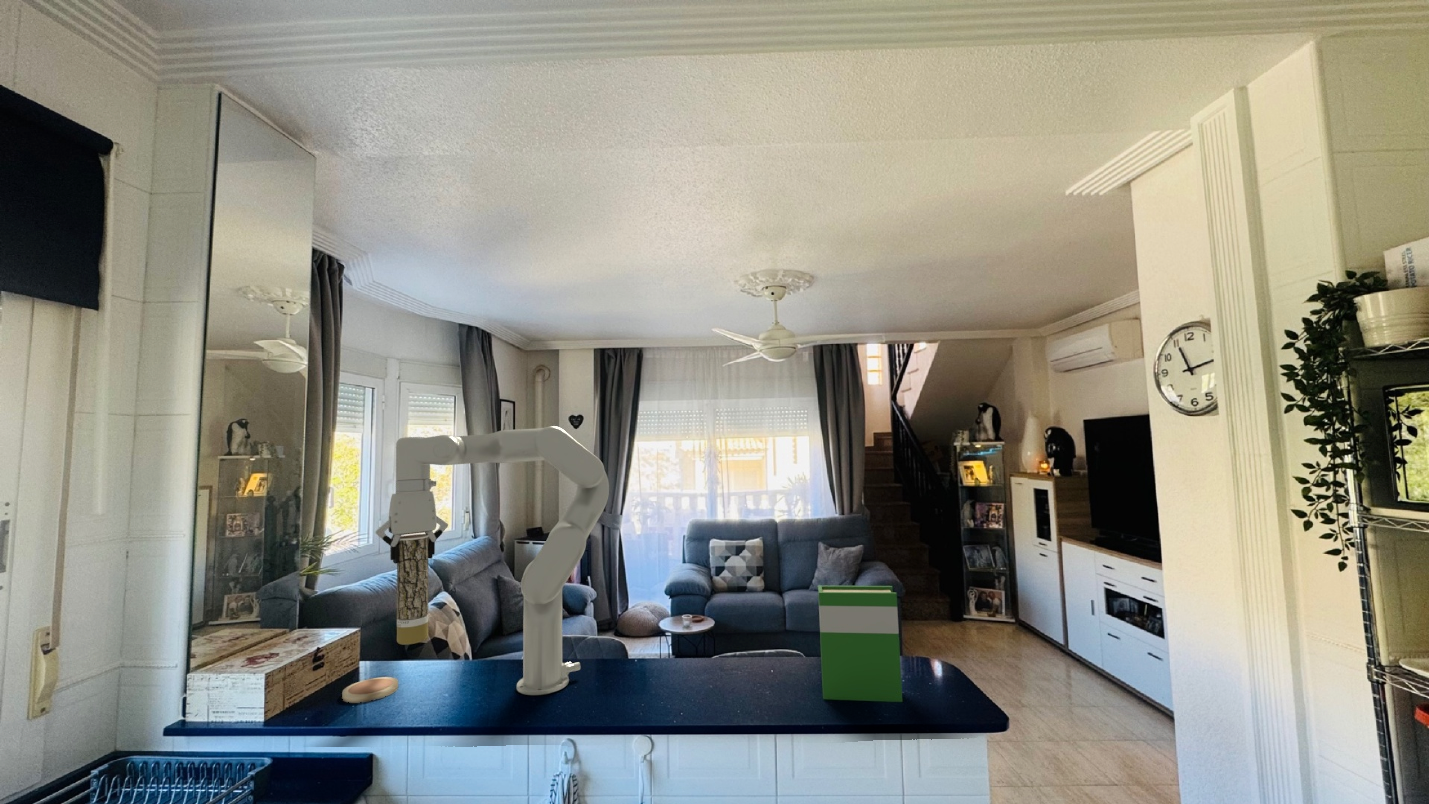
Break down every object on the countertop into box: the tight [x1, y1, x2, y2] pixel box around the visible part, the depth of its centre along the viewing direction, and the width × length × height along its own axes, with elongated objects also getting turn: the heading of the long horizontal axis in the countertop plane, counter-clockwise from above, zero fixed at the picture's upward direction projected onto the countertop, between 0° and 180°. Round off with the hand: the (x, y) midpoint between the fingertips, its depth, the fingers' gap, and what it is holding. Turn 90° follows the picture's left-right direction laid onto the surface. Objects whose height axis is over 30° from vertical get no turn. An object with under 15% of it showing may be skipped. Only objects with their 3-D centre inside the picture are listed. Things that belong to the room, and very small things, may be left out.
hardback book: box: [817, 585, 903, 703], centre depth 137 cm, size 18×7×24 cm, turn 81°
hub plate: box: [341, 676, 399, 704], centre depth 145 cm, size 12×12×2 cm
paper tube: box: [396, 533, 429, 645], centre depth 141 cm, size 7×7×25 cm
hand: (412, 559), depth 141 cm, fingers closed on paper tube, 6 cm apart
